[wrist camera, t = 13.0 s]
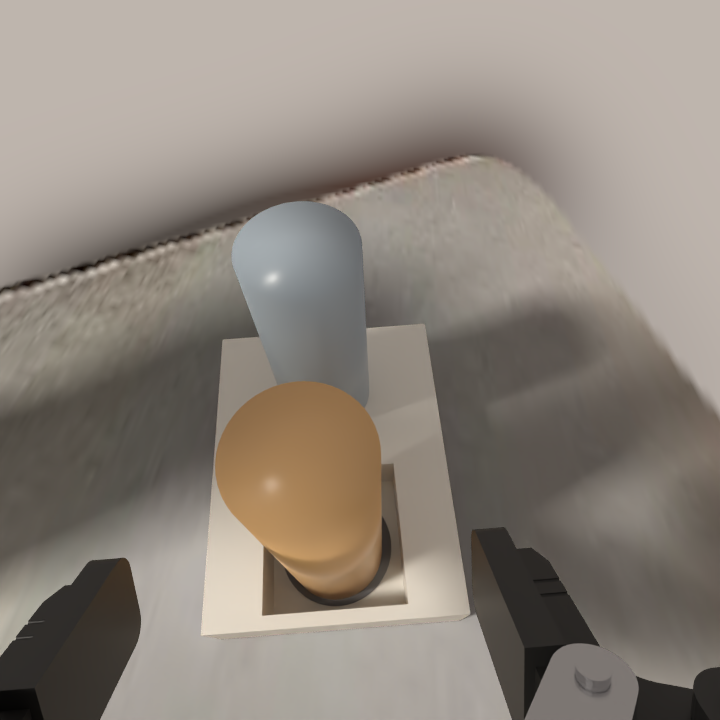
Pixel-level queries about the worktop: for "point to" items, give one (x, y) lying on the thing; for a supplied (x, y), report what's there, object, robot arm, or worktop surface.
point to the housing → (381, 401)
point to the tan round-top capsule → (307, 483)
